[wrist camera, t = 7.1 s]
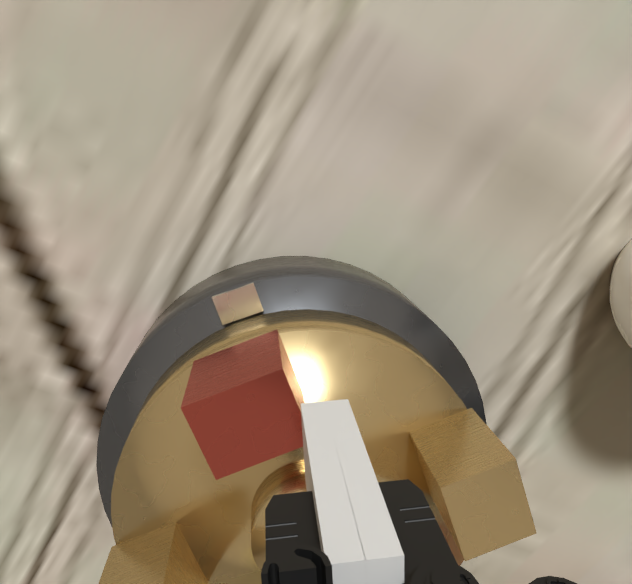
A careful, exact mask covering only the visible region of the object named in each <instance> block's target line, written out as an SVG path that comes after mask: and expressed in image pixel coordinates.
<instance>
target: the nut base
mask: <svg viewBox="0 0 632 584" xmlns="http://www.w3.org/2000/svg"><path fill="white" fill-rule="evenodd" d="M302 309H312V310H326V311H334V312H339V313H344V314H349V315H354V316H357V317H360V318H363V319H365V320H368V321H371V322H374V323H376V324H378V325H380V326H382V327H384V328H386V329H388V330H390V331H392V332H394V333H396V334H397V335H399V336H400V337H402V338H403V339H404V340H406V341H407V342H409V343H410V344H412V345H413V346H414V347H415V348H416V349H417V350H418V351H419V352H420V353H421V354H422V355H423V356H425V357H426V358H427V359H428V361H429V362H430V363H431V364H432V365H433V366H434V368H435V369H436V370H437V371H438V372H439V373H440V375H441V376H442V377H443V378H444V379H445V381H446V382H447V383H448V384H449V385H450V386H451V388H452V389H453V390H454V391H455V393H456V394H457V395H458V397H459V398H460V399H461V400H462V402H463V403H464V405H465V406H466V408H467V409H469V408H472V409H473V410H474V411H475V412H476V413H477V415H478V416H479V417H480V418H481V419H482V420H483V422H484V423H485V424H486V419H485V413H484V407H483V402H482V399H481V395H480V392H479V389H478V386H477V383H476V380H475V378H474V376H473V374H472V372H471V370H470V368H469V366H468V364H467V363H466V361H465V359H464V358H463V356H462V355H461V353H460V352H459V351H458V349H457V348H456V346H455V345H454V343H453V342H452V341H451V340H450V339H449V338H448V337H447V336H446V335H445V334H444V332H443V331H442V330H441V329H440V328H439V327H438V326H437V325H436V324H435V323H434V322H433V321H432V320H431V319H429V318H428V317H427V316H426V315H425V314H424V313H423V312H422V311H421V310H420V309H419V308H418V307H417V306H415V305H414V304H413V303H412V302H411V301H410V300H409V299H408V298H407V297H406V296H404V295H403V294H402V293H401V292H399V291H398V290H397V289H396V288H394V287H393V286H392V285H390V284H389V283H387V282H386V281H384V280H382V279H380V278H379V277H377V276H375V275H373V274H372V273H370V272H367V271H365V270H362V269H360V268H357V267H355V266H353V265H350V264H346V263H342V262H338V261H335V260H331V259H325V258H317V257H309V256H280V257H273V258H266V259H259V260H255V261H251V262H247V263H244V264H240V265H236V266H234V267H231V268H229V269H226V270H224V271H222V272H219V273H217V274H214V275H212V276H211V277H209V278H207V279H206V280H204V281H202V282H200V283H199V284H197V285H195V286H193V287H192V288H191V289H189V290H188V291H187V292H186V293H184V294H183V295H182V296H180V297H179V298H178V299H176V300H175V301H174V302H173V303H172V304H171V305H170V306H169V307H168V308H167V309H166V310H165V311H164V312H163V313H162V314H161V315H160V316H159V317H158V319H157V320H156V321H155V323H154V324H153V325H152V327H151V328H150V329H149V331H148V332H147V333H146V335H145V336H144V338H143V340H142V341H141V343H140V345H139V346H138V348H137V350H136V351H135V353H134V355H133V357H132V358H131V360H130V362H129V363H128V365H127V367H126V368H125V370H124V372H123V374H122V375H121V377H120V379H119V381H118V383H117V385H116V386H115V388H114V390H113V392H112V394H111V396H110V399H109V402H108V404H107V407H106V410H105V412H104V415H103V418H102V423H101V428H100V433H99V438H98V446H97V474H98V484H99V490H100V494H101V498H102V502H103V505H104V509H105V512H106V514H107V517H108V519H109V521H110V523H111V526H112V520H111V492H112V487H113V481H114V475H115V470H116V467H117V464H118V461H119V459H120V456H121V453H122V450H123V447H124V445H125V443H126V440H127V438H128V436H129V434H130V431H131V429H132V427H133V424H134V422H135V420H136V418H137V415H138V413H139V411H140V409H141V407H142V405H143V403H144V402H145V400H146V398H147V396H148V394H149V392H150V391H151V390H152V388H153V387H154V385H155V384H156V383H157V381H158V380H159V378H160V377H161V376H162V375H163V374H164V372H165V371H166V370H167V369H168V368H169V367H170V366H171V365H172V364H173V363H174V362H175V361H176V360H177V359H178V358H179V357H180V356H182V355H183V354H184V353H185V352H186V351H188V350H189V349H190V348H191V347H193V346H194V345H195V344H197V343H198V342H200V341H201V340H203V339H205V338H206V337H208V336H210V335H211V334H213V333H214V332H216V331H218V330H221V329H223V328H225V327H227V326H229V325H232V324H234V323H236V322H239V321H242V320H245V319H248V318H251V317H255V316H258V315H261V314H267V313H273V312H278V311H284V310H302ZM112 528H113V527H112Z"/></svg>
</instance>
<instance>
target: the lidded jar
mask: <svg viewBox="0 0 632 584" xmlns="http://www.w3.org/2000/svg"><path fill="white" fill-rule="evenodd" d="M610 305H611V310H612V314H613V318H614V320H615V323H616V325H617V328H618V329H619V331H620V333H621V334H622V336H623V338H624V339H625V341H626V342H627V344H628V345H629V346H630V347H631V348H632V239H631V240H630V241H629V242H628V244H626V246H625V247H624V248H623V249H622V251H621V252H620V254H619V256H618V257H617V259H616V261H615V264H614V266H613V270H612V273H611V280H610Z"/></svg>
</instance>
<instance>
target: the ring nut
mask: <svg viewBox="0 0 632 584" xmlns="http://www.w3.org/2000/svg"><path fill="white" fill-rule="evenodd" d="M344 399H348V400H349V403H350V406H351V409H352V412H353V414H354V417H355V420H356V423H357V425H358V428H359V431H360V434H361V437H362V439H363V442H364V445H365V448H366V450H367V453H368V456H369V459H370V462H371V464H372V467H373V470H374V473H375V475H376V478H377V481H378V482H387V481H396V480H406V479H409V480H410V481H411V482H412V483H414V484H415V485H416V486H417V487H418V488H419V489H421V490H422V491H423V493H424V496H425V498H426V500H427V502H428V504H429V508H431V510H432V512H433V514H434V516H435V520H437V522H438V524H439V527H440V529H441V531H442V533H443V535H444V537H445V539H446V541H447V543H448V545H449V547H450V549H451V551H452V553H453V555H454V557H455V560H456V562H457V564H458V565H459V566H460V565H461V563H462V562H463V560H465V561H467V560H469V559H472V558H475V557H477V556H480V555H482V554H485V553H487V552H490V551H492V550H495V549H497V548H500V547H503V546H505V545H508V544H510V543H513V542H515V541H518V540H520V539H523V538H525V537H528V536H531V535H533V534H536V530H535V526H534V523H533V519H532V515H531V512H530V508H529V505H528V501H527V498H526V494H525V490H524V487H523V483H522V480H521V476H520V472H519V469H518V465H517V462H516V459H515V457H514V456H513V455H512V454H511V453H510V452H509V450H508V449H507V448H506V447H505V446H504V445H503V444H502V442H501V441H500V440H499V439H498V438H497V437H496V435H495V434H494V433H493V432H492V431H491V430H490V428H489V427H488V426H487V425H486V424H485V423H484V422H483V420H482V419H481V418H480V417H479V416H478V415H477V413H476V412H475V411H474V410H473V409H472V408H469V409H467V408H466V406H465V405H464V403H463V402H462V400H461V399H460V398H459V397H458V395H457V394H456V393H455V391H454V390H453V389H452V388H451V386H450V385H449V384H448V383H447V382H446V381H445V379H444V378H443V377H442V376H441V375H440V373H439V372H438V371H437V370H436V369H435V368H434V366H433V365H432V364H431V363H430V362H429V361H428V359H427V358H426V357H425V356H423V355H422V354H421V353H420V352H419V351H418V350H417V349H416V348H415V347H414V346H413V345H412V344H410V343H409V342H407V341H406V340H404V339H403V338H402V337H400V336H399V335H397V334H396V333H394V332H392V331H390V330H388V329H386V328H384V327H382V326H380V325H378V324H376V323H374V322H371V321H368V320H365V319H363V318H360V317H357V316H354V315H349V314H344V313H339V312H334V311H326V310H312V309H302V310H284V311H278V312H273V313H267V314H261V315H258V316H255V317H251V318H248V319H245V320H242V321H239V322H236V323H234V324H232V325H229V326H227V327H225V328H223V329H221V330H218V331H216V332H214V333H213V334H211V335H210V336H208V337H206V338H205V339H203V340H201V341H200V342H198V343H197V344H195V345H194V346H193V347H191V348H190V349H189V350H188V351H186V352H185V353H184V354H183V355H182V356H180V357H179V358H178V359H177V360H176V361H175V362H174V363H173V364H172V365H171V366H170V367H169V368H168V369H167V370H166V371H165V372H164V374H163V375H162V376H161V377H160V378H159V380H158V381H157V383H156V384H155V385H154V387H153V388H152V390H151V391H150V392H149V394H148V396H147V398H146V400H145V402H144V403H143V405H142V407H141V409H140V411H139V413H138V415H137V418H136V420H135V422H134V424H133V427H132V429H131V431H130V434H129V436H128V438H127V440H126V443H125V445H124V447H123V450H122V453H121V456H120V459H119V461H118V464H117V467H116V470H115V475H114V481H113V487H112V492H111V520H112V527H113V534H114V539H115V542H116V545H115V546H113V547H112V548H111V551H110V553H109V556H108V559H107V562H106V565H105V567H104V570H103V573H102V576H101V579H100V581H99V584H262V582H261V572H262V568H263V564H264V562H265V561H266V542H265V541H266V538H265V509H266V507H267V505H268V503H269V502H270V500H271V498H272V496H273V495H279V494H288V493H297V492H307V489H306V482H305V467H304V451H303V435H302V419H301V403H312V402H323V401H333V400H344Z"/></svg>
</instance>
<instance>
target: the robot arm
mask: <svg viewBox="0 0 632 584" xmlns="http://www.w3.org/2000/svg"><path fill="white" fill-rule="evenodd" d="M301 419H302V435H303V451H304V467H305V482H306V489H307V492H297V493H288V494H279V495H273V496H272V498H271V500H270V502H269V503H268V505H267V507H266V509H265V538H266V541H265V542H266V561H265V562H264V564H263V568H262V572H261V582H262V584H479V583H478V582H477V580H476V579H475V578H474V577H473V575H472V574H471V573H470V572H468V571H467V570H465V569H464V568H462V567H461V566H459V565H458V564H457V562H456V560H455V557H454V555H453V553H452V551H451V549H450V547H449V545H448V543H447V541H446V539H445V537H444V535H443V533H442V531H441V529H440V527H439V524H438V522H437V520H435V516H434V514H433V512H432V510H431V508H429V504H428V502H427V500H426V498H425V496H424V493H423V491H422V490H421V489H419V488H418V487H417V486H416V485H415V484H414V483H412V482H411V481H410V480H409V479H406V480H396V481H387V482H378V481H377V478H376V475H375V473H374V470H373V467H372V464H371V462H370V459H369V456H368V453H367V450H366V448H365V445H364V442H363V439H362V437H361V434H360V431H359V428H358V425H357V423H356V420H355V417H354V414H353V412H352V409H351V406H350V403H349V400H348V399H344V400H333V401H323V402H312V403H301ZM529 584H577V583H574V582H572V581H569V580H567V579H565V578H559V577H552V576H547V577H541V578H536V579H535V580H534V581H532V582H531V583H529Z"/></svg>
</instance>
